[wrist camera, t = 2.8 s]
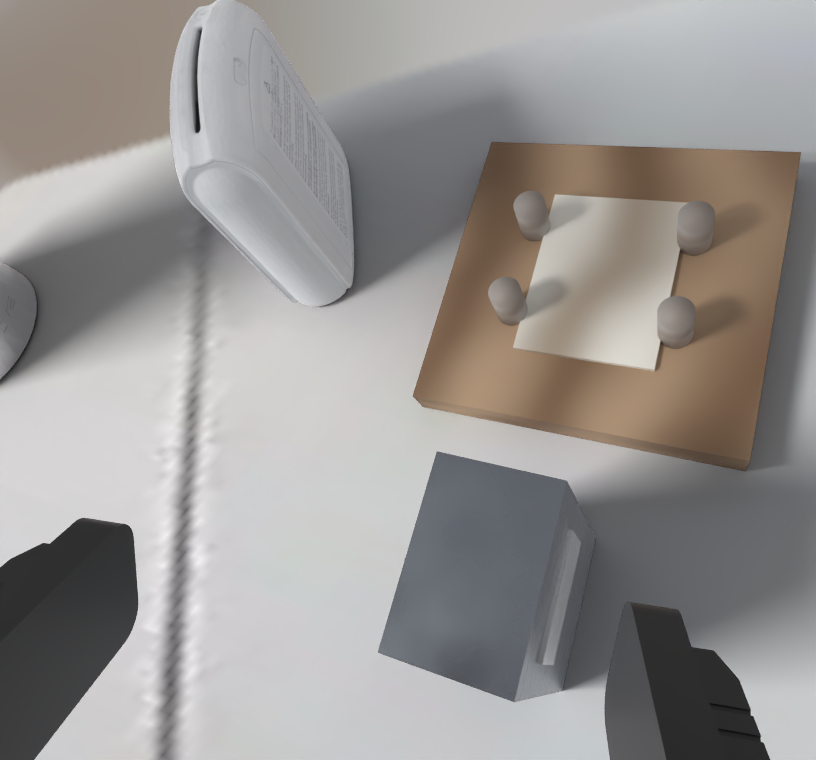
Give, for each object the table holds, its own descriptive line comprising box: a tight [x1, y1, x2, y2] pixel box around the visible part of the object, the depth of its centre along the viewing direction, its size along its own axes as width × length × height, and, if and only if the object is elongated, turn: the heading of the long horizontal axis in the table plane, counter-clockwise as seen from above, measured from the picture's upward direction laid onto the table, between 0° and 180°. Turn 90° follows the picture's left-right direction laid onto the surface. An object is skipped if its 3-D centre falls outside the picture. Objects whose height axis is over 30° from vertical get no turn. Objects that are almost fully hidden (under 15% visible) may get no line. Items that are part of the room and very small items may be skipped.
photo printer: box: [170, 0, 354, 307], centre depth 34 cm, size 10×4×12 cm, turn 5°
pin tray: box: [413, 142, 801, 471], centre depth 31 cm, size 14×14×4 cm
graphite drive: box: [378, 452, 596, 702], centre depth 24 cm, size 4×6×10 cm
